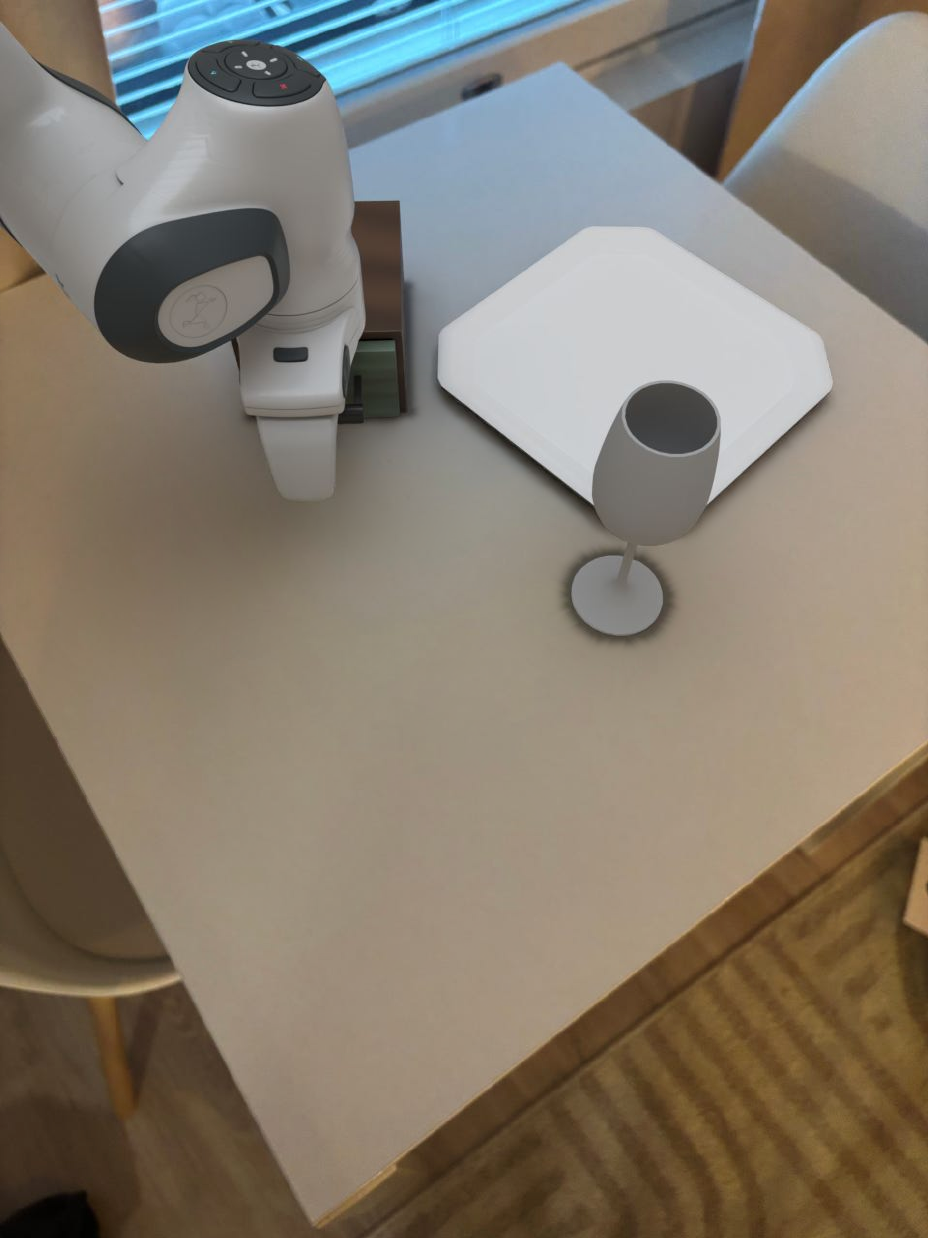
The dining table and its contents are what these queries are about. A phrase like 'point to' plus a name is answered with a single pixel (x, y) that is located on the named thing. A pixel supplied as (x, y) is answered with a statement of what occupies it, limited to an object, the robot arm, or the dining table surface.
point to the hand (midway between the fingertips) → (321, 438)
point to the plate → (628, 352)
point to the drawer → (371, 382)
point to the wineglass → (647, 498)
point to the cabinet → (380, 279)
